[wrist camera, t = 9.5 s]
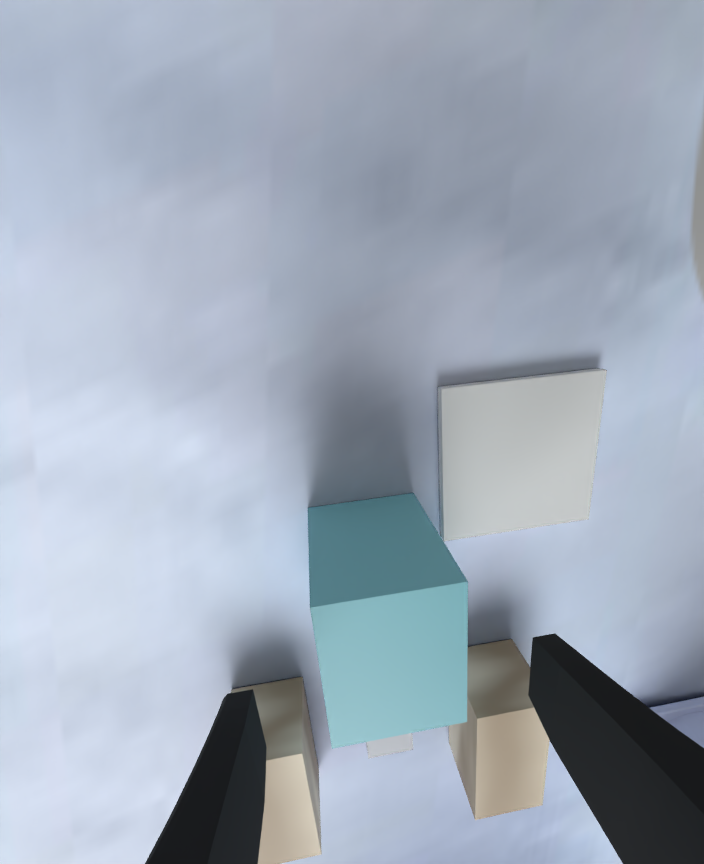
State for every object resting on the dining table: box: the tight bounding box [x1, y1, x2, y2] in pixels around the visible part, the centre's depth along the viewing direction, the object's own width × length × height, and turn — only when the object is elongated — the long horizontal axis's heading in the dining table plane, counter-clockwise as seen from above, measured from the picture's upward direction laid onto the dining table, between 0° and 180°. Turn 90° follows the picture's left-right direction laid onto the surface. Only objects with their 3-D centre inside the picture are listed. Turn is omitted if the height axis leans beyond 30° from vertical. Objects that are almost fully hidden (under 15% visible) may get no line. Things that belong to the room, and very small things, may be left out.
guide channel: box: [231, 639, 549, 864], centre depth 16 cm, size 12×6×3 cm, turn 95°
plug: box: [308, 493, 468, 758], centre depth 13 cm, size 4×10×5 cm, turn 5°
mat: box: [438, 368, 607, 541], centre depth 14 cm, size 6×6×1 cm
